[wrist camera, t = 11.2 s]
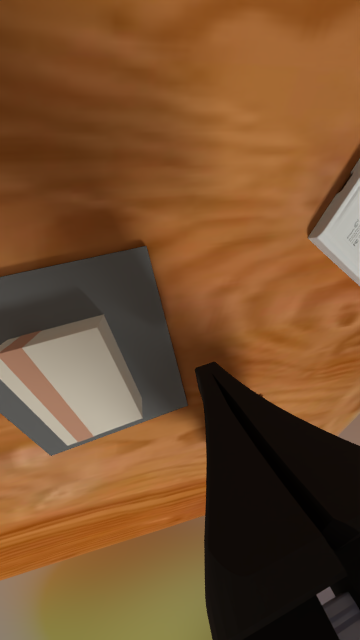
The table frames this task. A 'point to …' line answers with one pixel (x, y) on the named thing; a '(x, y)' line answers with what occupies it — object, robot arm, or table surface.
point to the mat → (86, 302)
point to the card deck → (72, 378)
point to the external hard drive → (342, 228)
